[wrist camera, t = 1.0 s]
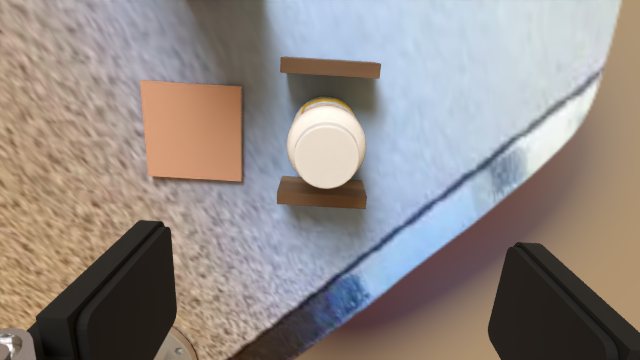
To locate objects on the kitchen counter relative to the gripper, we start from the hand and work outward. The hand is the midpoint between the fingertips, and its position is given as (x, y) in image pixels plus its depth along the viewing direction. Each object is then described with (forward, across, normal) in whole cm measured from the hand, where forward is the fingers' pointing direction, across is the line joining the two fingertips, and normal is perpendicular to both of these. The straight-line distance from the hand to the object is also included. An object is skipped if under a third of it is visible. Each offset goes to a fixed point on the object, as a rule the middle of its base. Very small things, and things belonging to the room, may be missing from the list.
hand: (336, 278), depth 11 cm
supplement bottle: (+23, 0, 0) cm, 23 cm away
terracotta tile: (+23, +11, +1) cm, 25 cm away
